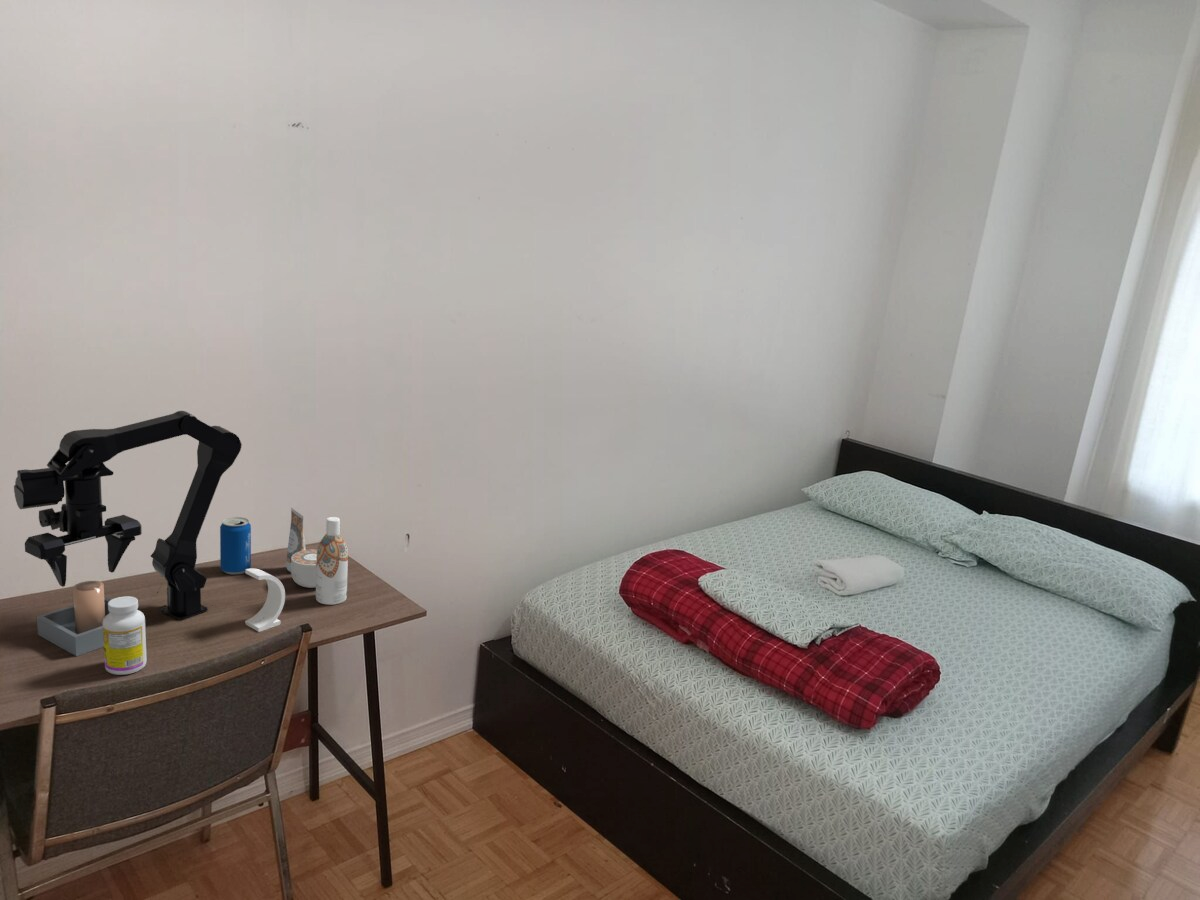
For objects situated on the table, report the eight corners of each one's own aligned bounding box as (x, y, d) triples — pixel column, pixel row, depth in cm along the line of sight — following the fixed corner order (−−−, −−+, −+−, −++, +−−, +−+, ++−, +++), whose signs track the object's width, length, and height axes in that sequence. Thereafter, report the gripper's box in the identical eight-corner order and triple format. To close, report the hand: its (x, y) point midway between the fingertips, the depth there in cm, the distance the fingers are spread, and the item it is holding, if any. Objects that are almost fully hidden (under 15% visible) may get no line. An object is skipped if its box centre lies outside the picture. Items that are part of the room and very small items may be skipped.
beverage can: (240, 577, 198) (240, 527, 195) (214, 573, 199) (213, 523, 196) (256, 567, 204) (256, 519, 201) (231, 563, 205) (231, 514, 202)
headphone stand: (245, 624, 177) (245, 569, 174) (271, 615, 182) (271, 561, 179) (258, 632, 175) (259, 576, 172) (285, 622, 180) (285, 568, 177)
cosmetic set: (271, 568, 205) (271, 492, 200) (309, 561, 211) (310, 487, 206) (317, 609, 187) (319, 526, 182) (357, 600, 193) (360, 520, 188)
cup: (111, 629, 168) (109, 586, 166) (85, 638, 164) (82, 594, 162) (96, 621, 171) (93, 578, 168) (70, 630, 167) (67, 586, 164)
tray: (142, 632, 170) (141, 614, 169) (76, 656, 159) (75, 637, 158) (103, 613, 176) (102, 595, 175) (38, 634, 165) (36, 616, 164)
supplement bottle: (114, 657, 160) (112, 592, 157) (152, 658, 161) (150, 594, 158) (97, 675, 154) (94, 608, 151) (137, 677, 155) (134, 610, 152)
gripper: (107, 480, 173) (110, 554, 176) (5, 500, 157) (10, 581, 161) (142, 493, 167) (144, 569, 171) (40, 515, 151) (44, 598, 155)
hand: (87, 578), depth 165 cm, fingers open, 9 cm apart
